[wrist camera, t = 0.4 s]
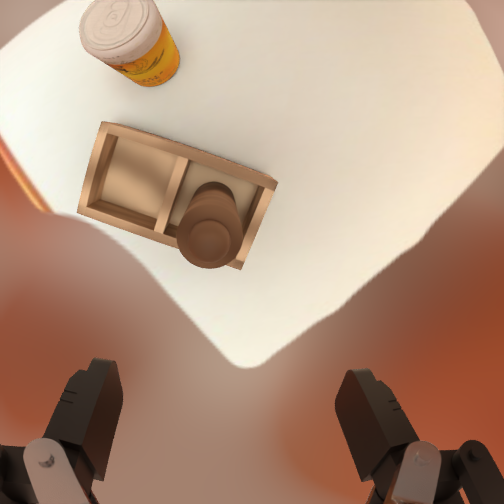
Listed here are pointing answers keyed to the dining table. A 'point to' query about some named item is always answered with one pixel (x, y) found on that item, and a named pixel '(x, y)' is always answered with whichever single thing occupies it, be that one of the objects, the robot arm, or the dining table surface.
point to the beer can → (130, 39)
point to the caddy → (175, 195)
